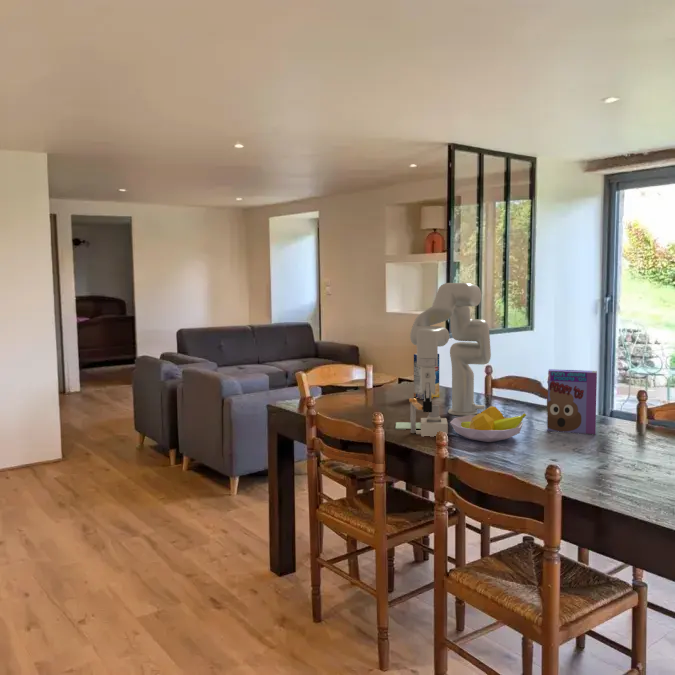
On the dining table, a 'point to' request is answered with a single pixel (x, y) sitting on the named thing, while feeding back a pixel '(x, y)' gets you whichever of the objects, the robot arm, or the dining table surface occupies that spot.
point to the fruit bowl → (488, 425)
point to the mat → (406, 425)
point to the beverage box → (418, 381)
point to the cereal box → (572, 401)
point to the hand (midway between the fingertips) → (427, 411)
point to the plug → (434, 414)
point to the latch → (416, 403)
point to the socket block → (427, 425)
